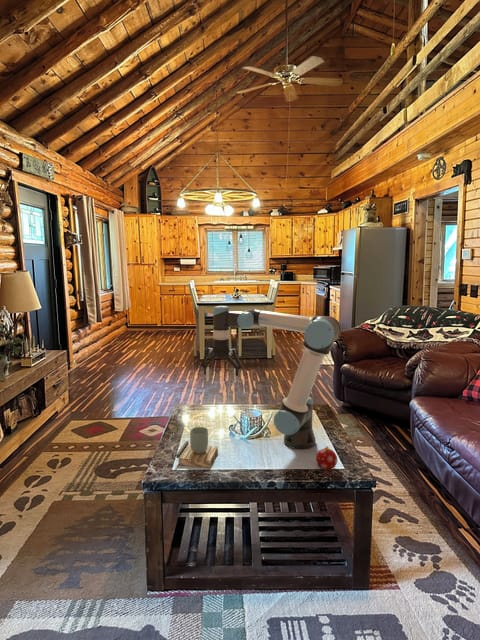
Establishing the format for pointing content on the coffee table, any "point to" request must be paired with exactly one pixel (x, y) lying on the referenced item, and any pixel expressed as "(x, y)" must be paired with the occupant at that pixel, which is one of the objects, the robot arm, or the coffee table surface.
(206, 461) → the pallet dock
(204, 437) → the cup
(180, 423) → the coffee table surface
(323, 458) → the christmas ornament
